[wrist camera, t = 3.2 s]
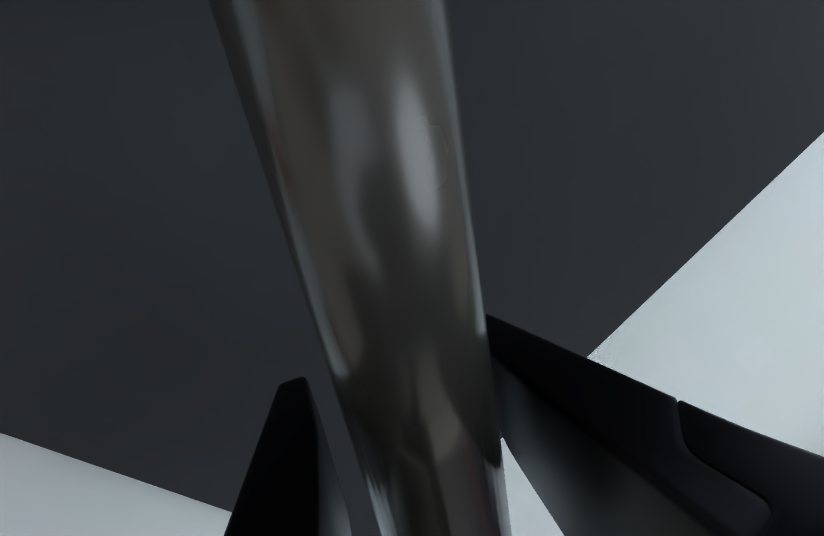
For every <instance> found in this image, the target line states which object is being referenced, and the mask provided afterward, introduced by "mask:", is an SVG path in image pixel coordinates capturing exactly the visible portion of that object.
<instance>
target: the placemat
mask: <svg viewBox="0 0 824 536" xmlns="http://www.w3.org/2000/svg"><path fill="white" fill-rule="evenodd" d="M448 7H449V16H450V24H451V33H452V41H453V49H454V58H455V66H456V74H457V83H458V91H459V99H460V108H461V116H462V124H463V133H464V141H465V149H466V158H467V166H468V174H469V183H470V191H471V199H472V208H473V216H474V224H475V233H476V241H477V249H478V258H479V266H480V275H481V283H482V291H483V300H484V308H485V314H489V315H492V316H494V317H496V318H498V319H501V320H503V321H505V322H507V323H510V324H512V325H514V326H516V327H518V328H521V329H523V330H525V331H527V332H530V333H532V334H534V335H536V336H538V337H541V338H543V339H545V340H547V341H550V342H552V343H554V344H556V345H559V346H561V347H563V348H565V349H567V350H570V351H572V352H574V353H576V354H579V355H581V356H583V357H585V358H586V357H587V356H588V355H590V354H591V353H592V352H593V351H594V350H595V349H596V348H597V347H598V346H599V345H600V344H601V343H602V342H603V341H604V340H605V339H606V338H607V337H608V336H609V335H611V334H612V333H613V332H614V331H615V330H616V329H617V328H618V327H619V326H620V325H621V324H622V323H623V322H624V321H625V320H626V319H627V318H628V317H629V316H631V315H632V314H633V313H634V312H635V311H636V310H637V309H638V308H639V307H640V306H641V305H642V304H643V303H644V302H645V301H646V300H647V299H648V298H649V297H651V296H652V295H653V294H654V293H655V292H656V291H657V290H658V289H659V288H660V287H661V286H662V285H663V284H664V283H665V282H666V281H667V280H668V279H669V278H671V277H672V276H673V275H674V274H675V273H676V272H677V271H678V270H679V269H680V268H681V267H682V266H683V265H684V264H685V263H686V262H687V261H688V260H689V259H690V258H692V257H693V256H694V255H695V254H696V253H697V252H698V251H699V250H700V249H701V248H702V247H703V246H704V245H705V244H706V243H707V242H708V241H709V240H710V239H712V238H713V237H714V236H715V235H716V234H717V233H718V232H719V231H720V230H721V229H722V228H723V227H724V226H725V225H726V224H727V223H728V222H729V221H730V220H732V219H733V218H734V217H735V216H736V215H737V214H738V213H739V212H740V211H741V210H742V209H743V208H744V207H745V206H746V205H747V204H748V203H749V202H750V201H751V200H753V199H754V198H755V197H756V196H757V195H758V194H759V193H760V192H761V191H762V190H763V189H764V188H765V187H766V186H767V185H768V184H769V183H770V182H771V181H773V180H774V179H775V178H776V177H777V176H778V175H779V174H780V173H781V172H782V171H783V170H784V169H785V168H786V167H787V166H788V165H789V164H790V163H791V162H793V161H794V160H795V159H796V158H797V157H798V156H799V155H800V154H801V153H802V152H803V151H804V150H805V149H806V148H807V147H808V146H809V145H810V144H811V143H812V142H814V141H815V140H816V139H817V138H818V137H819V136H820V135H821V134H822V133H823V132H824V0H448ZM298 377H305V378H306V379H307V381H308V383H309V386H310V389H311V392H312V395H313V397H314V400H315V403H316V406H317V409H318V412H319V415H320V418H321V421H322V424H323V427H324V431H325V434H326V438H327V441H328V445H329V448H330V452H331V455H332V458H333V462H334V465H335V469H336V472H337V476H338V479H339V483H340V486H341V490H342V493H343V497H344V500H345V504H346V508H347V512H348V517H349V522H350V528H351V534H352V536H382V535H381V531H380V528H379V525H378V522H377V519H376V516H375V513H374V510H373V507H372V504H371V501H370V498H369V495H368V491H367V488H366V485H365V482H364V479H363V476H362V473H361V470H360V467H359V464H358V461H357V458H356V455H355V451H354V448H353V445H352V442H351V439H350V436H349V433H348V430H347V427H346V424H345V421H344V418H343V415H342V411H341V408H340V405H339V402H338V399H337V396H336V393H335V390H334V387H333V384H332V381H331V378H330V374H329V371H328V368H327V365H326V362H325V359H324V356H323V353H322V350H321V347H320V344H319V341H318V338H317V334H316V331H315V328H314V325H313V322H312V319H311V316H310V313H309V310H308V307H307V304H306V301H305V298H304V294H303V291H302V288H301V285H300V282H299V279H298V276H297V273H296V270H295V267H294V264H293V261H292V258H291V254H290V251H289V248H288V245H287V242H286V239H285V236H284V233H283V230H282V227H281V224H280V221H279V218H278V214H277V211H276V208H275V205H274V202H273V199H272V196H271V193H270V190H269V187H268V184H267V181H266V178H265V174H264V171H263V168H262V165H261V162H260V159H259V156H258V153H257V150H256V147H255V144H254V141H253V138H252V134H251V131H250V128H249V125H248V122H247V119H246V116H245V113H244V110H243V107H242V104H241V101H240V98H239V94H238V91H237V88H236V85H235V82H234V79H233V76H232V73H231V70H230V67H229V64H228V61H227V57H226V54H225V51H224V48H223V45H222V42H221V39H220V36H219V33H218V30H217V27H216V24H215V21H214V17H213V14H212V11H211V8H210V5H209V2H208V0H0V433H3V434H6V435H9V436H11V437H14V438H17V439H20V440H23V441H26V442H29V443H32V444H35V445H38V446H41V447H44V448H46V449H49V450H52V451H55V452H58V453H61V454H64V455H67V456H70V457H73V458H76V459H79V460H81V461H84V462H87V463H90V464H93V465H96V466H99V467H102V468H105V469H108V470H111V471H114V472H116V473H119V474H122V475H125V476H128V477H131V478H134V479H137V480H140V481H143V482H146V483H149V484H151V485H154V486H157V487H160V488H163V489H166V490H169V491H172V492H175V493H178V494H181V495H183V496H186V497H189V498H192V499H195V500H198V501H201V502H204V503H207V504H210V505H213V506H216V507H218V508H221V509H224V510H227V511H230V512H233V509H234V506H235V504H236V501H237V498H238V495H239V493H240V490H241V487H242V484H243V482H244V479H245V476H246V473H247V471H248V468H249V465H250V462H251V460H252V457H253V454H254V451H255V449H256V446H257V443H258V441H259V438H260V435H261V432H262V430H263V427H264V424H265V421H266V419H267V416H268V413H269V410H270V408H271V405H272V402H273V399H274V397H275V394H276V391H277V388H278V386H279V385H280V384H282V383H284V382H287V381H290V380H293V379H295V378H298ZM499 433H500V439H501V438H502V437H503V436H502V434H501V432H500V430H499Z"/></svg>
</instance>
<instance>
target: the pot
mask: <svg viewBox="0 0 824 536" xmlns="http://www.w3.org/2000/svg"><path fill="white" fill-rule="evenodd" d="M208 2H209V5H210V8H211V11H212V14H213V17H214V21H215V24H216V27H217V30H218V33H219V36H220V39H221V42H222V45H223V48H224V51H225V54H226V57H227V61H228V64H229V67H230V70H231V73H232V76H233V79H234V82H235V85H236V88H237V91H238V94H239V98H240V101H241V104H242V107H243V110H244V113H245V116H246V119H247V122H248V125H249V128H250V131H251V134H252V138H253V141H254V144H255V147H256V150H257V153H258V156H259V159H260V162H261V165H262V168H263V171H264V174H265V178H266V181H267V184H268V187H269V190H270V193H271V196H272V199H273V202H274V205H275V208H276V211H277V214H278V218H279V221H280V224H281V227H282V230H283V233H284V236H285V239H286V242H287V245H288V248H289V251H290V254H291V258H292V261H293V264H294V267H295V270H296V273H297V276H298V279H299V282H300V285H301V288H302V291H303V294H304V298H305V301H306V304H307V307H308V310H309V313H310V316H311V319H312V322H313V325H314V328H315V331H316V334H317V338H318V341H319V344H320V347H321V350H322V353H323V356H324V359H325V362H326V365H327V368H328V371H329V374H330V378H331V381H332V384H333V387H334V390H335V393H336V396H337V399H338V402H339V405H340V408H341V411H342V415H343V418H344V421H345V424H346V427H347V430H348V433H349V436H350V439H351V442H352V445H353V448H354V451H355V455H356V458H357V461H358V464H359V467H360V470H361V473H362V476H363V479H364V482H365V485H366V488H367V491H368V495H369V498H370V501H371V504H372V507H373V510H374V513H375V516H376V519H377V522H378V525H379V528H380V531H381V535H382V536H512V533H511V525H510V517H509V508H508V500H507V491H506V483H505V475H504V466H503V458H502V450H501V441H500V433H499V425H498V416H497V408H496V400H495V391H494V383H493V375H492V366H491V358H490V350H489V341H488V333H487V325H486V316H485V308H484V300H483V291H482V283H481V275H480V266H479V258H478V249H477V241H476V233H475V224H474V216H473V208H472V199H471V191H470V183H469V174H468V166H467V158H466V149H465V141H464V133H463V124H462V116H461V108H460V99H459V91H458V83H457V74H456V66H455V58H454V49H453V41H452V33H451V24H450V16H449V7H448V0H208Z"/></svg>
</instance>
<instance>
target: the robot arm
mask: <svg viewBox="0 0 824 536" xmlns="http://www.w3.org/2000/svg"><path fill="white" fill-rule="evenodd" d="M485 316H486V325H487V333H488V341H489V350H490V358H491V366H492V375H493V383H494V391H495V400H496V408H497V416H498V425H499V430H500V432H501V434H502V436H503V438H504V440H505V442H506V444H507V446H508V448H509V450H510V451H511V453H512V455H513V456H514V458H515V460H516V461H517V463H518V465H519V466H520V468H521V469H522V471H523V472H524V474H525V475H526V477H527V479H528V480H529V482H530V483H531V485H532V486H533V488H534V489H535V491H536V492H537V494H538V496H539V497H540V499H541V500H542V502H543V503H544V505H545V506H546V508H547V510H548V511H549V513H550V514H551V516H552V517H553V519H554V520H555V522H556V523H557V525H558V527H559V528H560V530H561V531H562V533H563V534H564V536H824V457H823V456H820V455H817V454H814V453H811V452H809V451H806V450H803V449H800V448H797V447H795V446H792V445H789V444H786V443H784V442H781V441H778V440H776V439H773V438H770V437H768V436H765V435H762V434H760V433H757V432H754V431H752V430H749V429H747V428H744V427H742V426H739V425H737V424H734V423H732V422H730V421H727V420H725V419H723V418H720V417H718V416H716V415H713V414H711V413H708V412H706V411H704V410H702V409H699V408H697V407H695V406H693V405H690V404H688V403H686V402H684V401H678V402H677V400H676V398H674V397H672V396H670V395H668V394H665V393H663V392H661V391H659V390H657V389H654V388H652V387H650V386H648V385H645V384H643V383H641V382H639V381H637V380H634V379H632V378H630V377H628V376H625V375H623V374H621V373H619V372H616V371H614V370H612V369H610V368H608V367H605V366H603V365H601V364H599V363H596V362H594V361H592V360H590V359H587V358H585V357H583V356H581V355H579V354H576V353H574V352H572V351H570V350H567V349H565V348H563V347H561V346H559V345H556V344H554V343H552V342H550V341H547V340H545V339H543V338H541V337H538V336H536V335H534V334H532V333H530V332H527V331H525V330H523V329H521V328H518V327H516V326H514V325H512V324H510V323H507V322H505V321H503V320H501V319H498V318H496V317H494V316H492V315H489V314H485ZM224 536H352V534H351V528H350V522H349V517H348V512H347V508H346V504H345V500H344V497H343V493H342V490H341V486H340V483H339V479H338V476H337V472H336V469H335V465H334V462H333V458H332V455H331V452H330V448H329V445H328V441H327V438H326V434H325V431H324V427H323V424H322V421H321V418H320V415H319V412H318V409H317V406H316V403H315V400H314V397H313V395H312V392H311V389H310V386H309V383H308V381H307V379H306V378H305V377H298V378H295V379H293V380H290V381H287V382H284V383H282V384H280V385H279V386H278V388H277V391H276V394H275V397H274V399H273V402H272V405H271V408H270V410H269V413H268V416H267V419H266V421H265V424H264V427H263V430H262V432H261V435H260V438H259V441H258V443H257V446H256V449H255V451H254V454H253V457H252V460H251V462H250V465H249V468H248V471H247V473H246V476H245V479H244V482H243V484H242V487H241V490H240V493H239V495H238V498H237V501H236V504H235V506H234V509H233V512H232V515H231V517H230V520H229V523H228V526H227V528H226V531H225V534H224Z"/></svg>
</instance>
